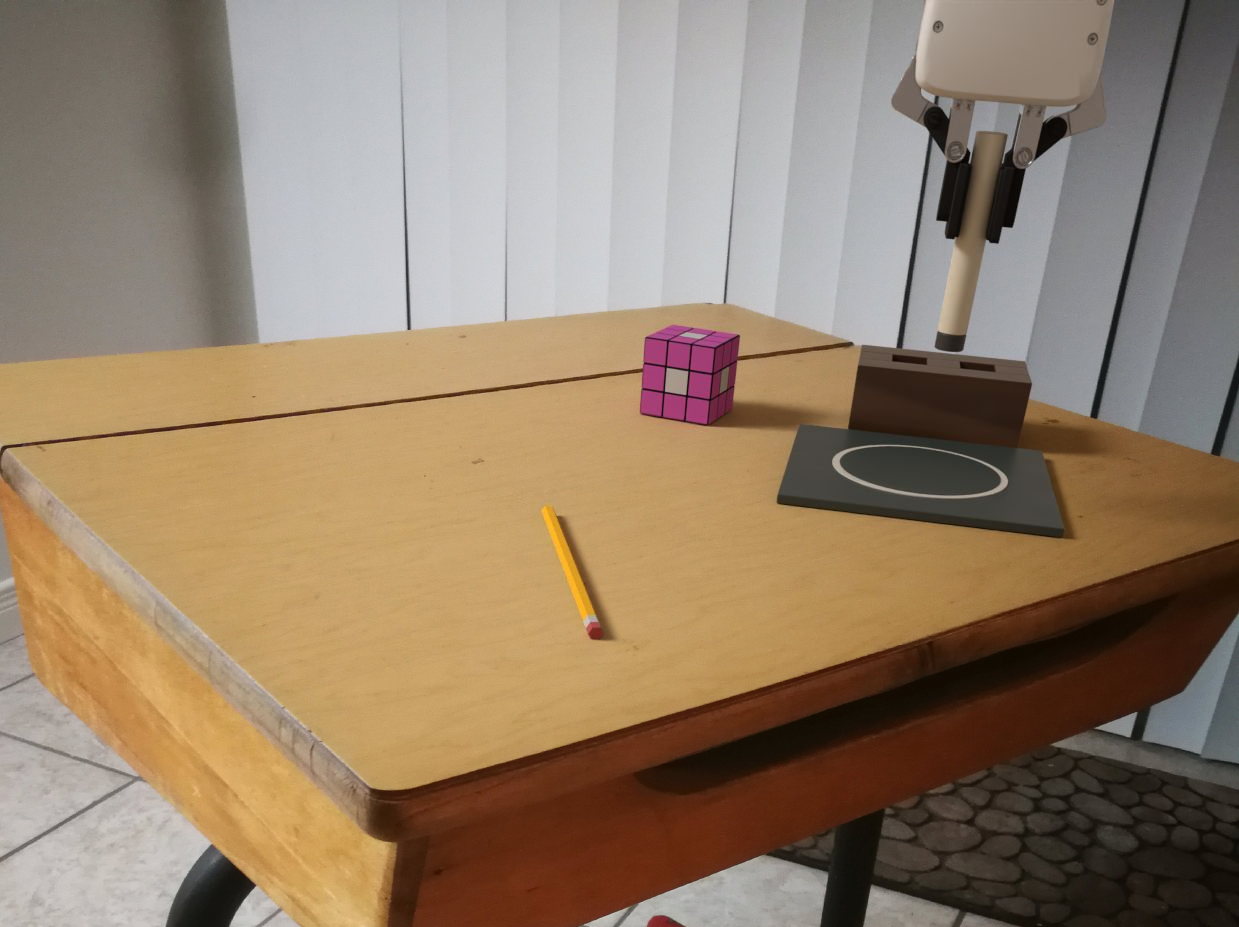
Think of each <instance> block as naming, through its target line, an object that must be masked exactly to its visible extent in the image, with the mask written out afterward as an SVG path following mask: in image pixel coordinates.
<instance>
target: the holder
mask: <svg viewBox="0 0 1239 927" xmlns="http://www.w3.org/2000/svg"><path fill="white" fill-rule="evenodd" d="M1032 387H1033V382H1032V378H1031V376H1030V372H1029V370H1028V366H1027V362H1026V361H1025V360H1018V359H1017V360H1016V359H1007V358H996V357H995V358H994V357H986V356H977V355H967V354H959V353H958V354H957V353H950V352H948V353H947V352H939V351H928V350H919V349H909V348H899V347H891V346H881V345H872V344H861V347H860V352H859V358H858V363H857V369H856V375H855V380H854V388H853V394H852V400H851V407H850V413H849V418H848V419H849V420H848V426H847V429H851V430H860V431H869V432H878V433H887V434H896V435H905V436H913V437H922V438H931V439H940V440H949V441H958V442H967V443H976V444H985V445H994V446H1003V447H1012V448H1019V444H1020V439H1021V435H1022V430H1023V426H1024V422H1025V417H1026V413H1027V409H1028V405H1029V399H1030V395H1031V392H1032Z"/></svg>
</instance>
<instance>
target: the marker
mask: <svg viewBox="0 0 1239 927" xmlns="http://www.w3.org/2000/svg"><path fill="white" fill-rule="evenodd" d="M1008 135H1009V134H1008V133H1006V132H1000V131H990V130H977V131H976V132H975V135H974V136H975V137H974V142H973V147H972V151H971V155H970V160H969V163H970V165H971V166H972V171H971V176H970V181H969V186H968V192H967V197H966V202H965V207H964V212H963V217H962V222H961V227H960V232H959V237H955V239H954V243H953V249H952V253H951V254H952V255H951V258H950V259H951V260H950V265H949V268H948V275H947V281H946V285H945V290H944V294H943V300H942V304H941V310H940V316H939V321H938V326H937V332H936V336H935V341H934V349H936V350H938V351H942V352H946V353H947V352H948V353H961V352H963V351H964V349H965V344H966V339H967V334H968V331H969V325H970V320H971V316H972V312H973V311H972V310H973V306H974V300H975V297H976V291H977V286H978V281H979V276H980V272H981V267H982V261H983V257H984V252H985V248H986V247H985V246H986V243H987V240H986V235H987V230H988V225H989V221H990V216H991V211H992V206H993V201H994V196H995V191H996V187H997V182H998V177H999V172H1000V168H1001V166H1002V163H1003V162H1004V157H1005V151H1006V145H1007V142H1008V141H1007V140H1008V137H1009V136H1008Z"/></svg>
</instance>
